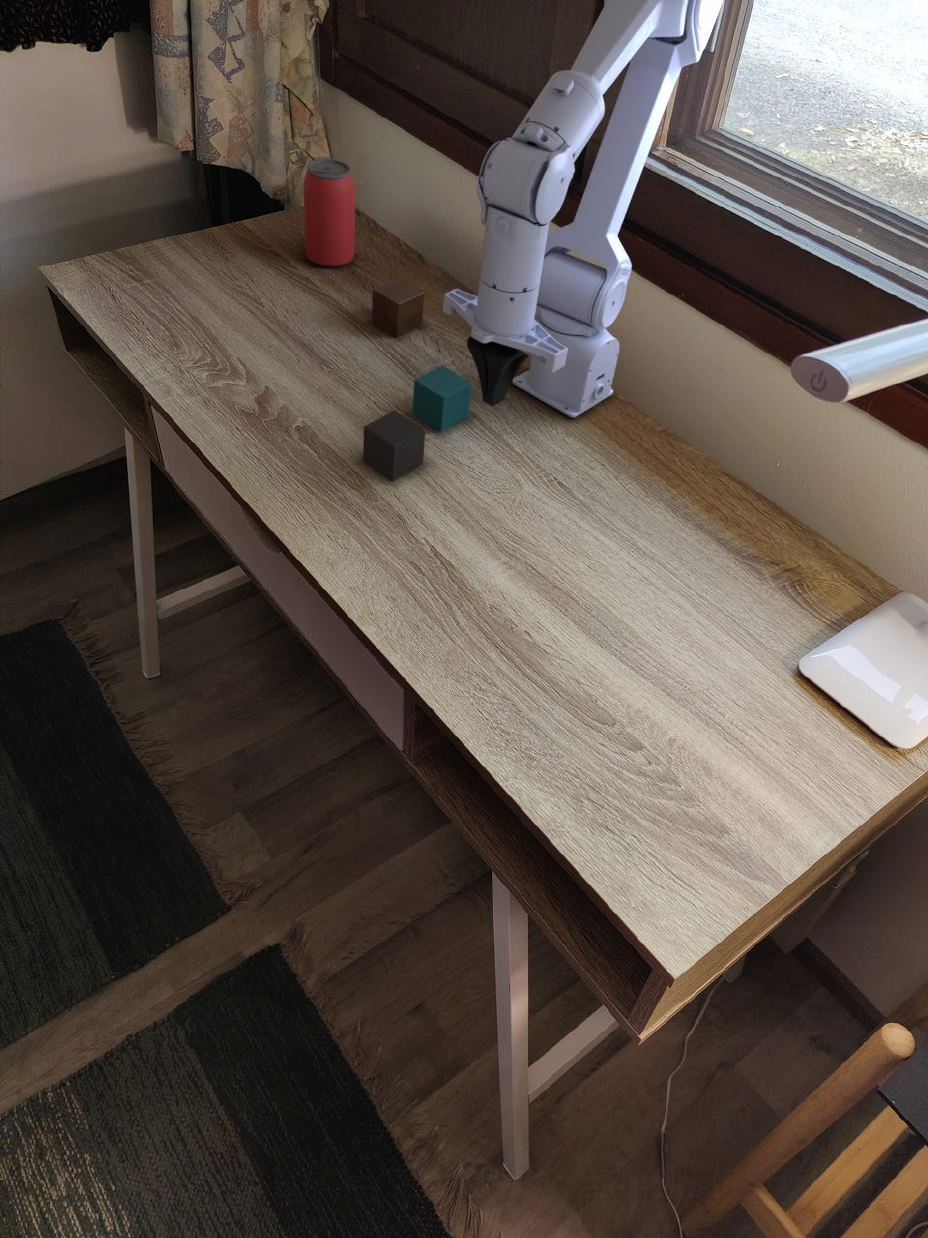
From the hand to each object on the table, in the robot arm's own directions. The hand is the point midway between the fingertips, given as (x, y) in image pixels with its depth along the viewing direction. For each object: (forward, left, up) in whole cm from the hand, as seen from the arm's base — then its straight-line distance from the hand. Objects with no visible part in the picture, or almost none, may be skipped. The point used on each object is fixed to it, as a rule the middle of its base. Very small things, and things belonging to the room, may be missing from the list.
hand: (493, 400), depth 100 cm
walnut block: (+24, -10, -6) cm, 27 cm away
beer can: (+42, -15, -6) cm, 45 cm away
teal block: (+7, 0, -6) cm, 9 cm away
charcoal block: (+5, +10, -6) cm, 12 cm away
